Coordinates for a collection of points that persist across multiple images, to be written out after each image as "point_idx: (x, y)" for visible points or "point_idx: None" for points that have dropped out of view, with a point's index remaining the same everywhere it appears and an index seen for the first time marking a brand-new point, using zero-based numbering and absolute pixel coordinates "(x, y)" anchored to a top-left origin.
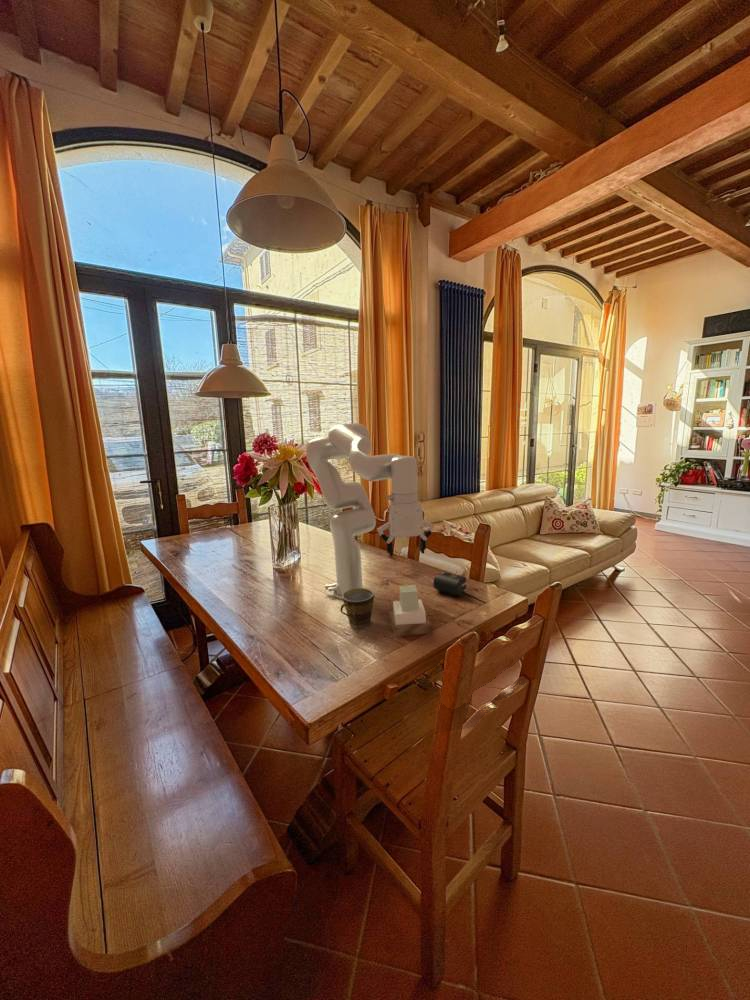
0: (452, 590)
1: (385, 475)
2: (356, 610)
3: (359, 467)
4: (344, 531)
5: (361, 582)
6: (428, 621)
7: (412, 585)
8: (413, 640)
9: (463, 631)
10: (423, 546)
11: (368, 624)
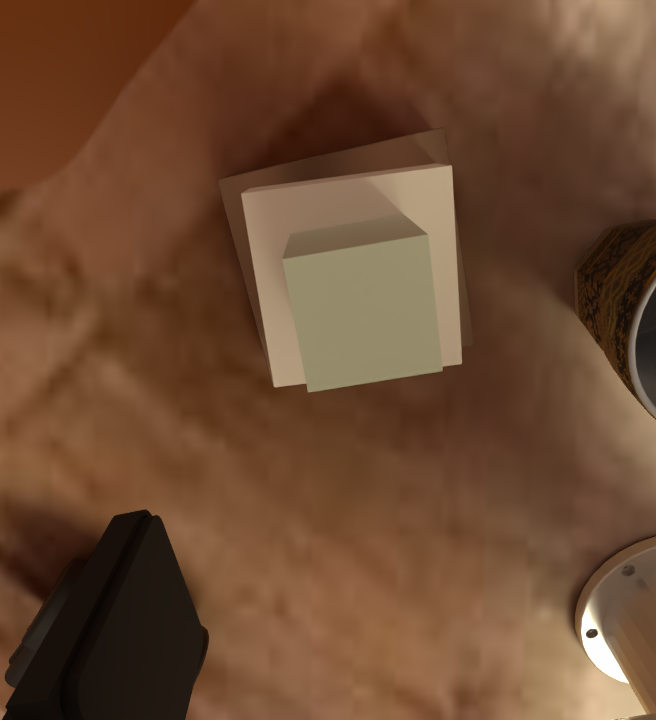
0: None
1: None
2: None
3: None
4: None
5: (635, 648)
6: (233, 209)
7: (328, 377)
8: (328, 84)
9: (43, 189)
10: (81, 594)
11: (586, 254)
